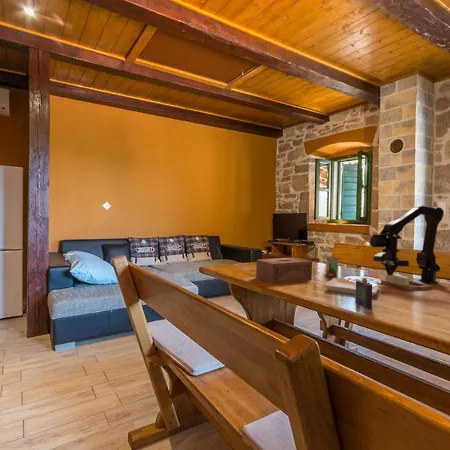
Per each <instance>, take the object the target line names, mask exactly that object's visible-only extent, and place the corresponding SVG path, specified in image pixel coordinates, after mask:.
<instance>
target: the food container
mask: <svg viewBox="0 0 450 450" xmlns="http://www.w3.org/2000/svg"><path fill="white" fill-rule="evenodd" d="M339 263H340V260H339V257H334V256H326V273H325V274H326V275H327V277H328V278H337V274H338V266H339Z"/></svg>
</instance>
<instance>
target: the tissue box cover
mask: <svg viewBox="0 0 450 450" xmlns="http://www.w3.org/2000/svg"><path fill="white" fill-rule="evenodd" d="M312 277H313V260H309V259H304V258H299V257H282V258H264V259H263V258H262V259H256V270H255V278H256V279H259V280H261V281H265V282H267V283H270V284H279V283H289V282H298V281H308V280H312Z"/></svg>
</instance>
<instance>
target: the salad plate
mask: <svg viewBox="0 0 450 450" xmlns="http://www.w3.org/2000/svg"><path fill="white" fill-rule="evenodd" d="M349 280H350V279H346V278H337V277H333V278H332V279H331V280H329V281H328V282H326V283H325V284H324V286H325V288H326V289H328V290H329V291H333V292H335V293H342V294H347V295H348V294H349V295H353V296H354V295H356V285H353V284H351V283H350V282H349ZM353 280H354V281H356V279H353ZM375 283H376V282H375ZM376 284H377V286H375V287H372V296H374V295H376V293H377V292H378V289H379V287H380V286H381V284H380V282H379V283H378V282H377V283H376Z"/></svg>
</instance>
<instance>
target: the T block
mask: <svg viewBox="0 0 450 450" xmlns="http://www.w3.org/2000/svg"><path fill="white" fill-rule="evenodd" d="M409 280H410V277H408V276H405V275H403V274H399V273H397V274H394V273H393V275H388V274H387V275H385V281H386V282H390V283H393V284H397V285H401V286H404V287H408V286H410V284H409Z"/></svg>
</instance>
